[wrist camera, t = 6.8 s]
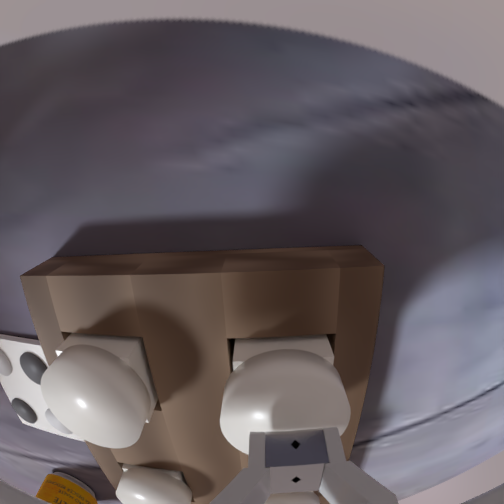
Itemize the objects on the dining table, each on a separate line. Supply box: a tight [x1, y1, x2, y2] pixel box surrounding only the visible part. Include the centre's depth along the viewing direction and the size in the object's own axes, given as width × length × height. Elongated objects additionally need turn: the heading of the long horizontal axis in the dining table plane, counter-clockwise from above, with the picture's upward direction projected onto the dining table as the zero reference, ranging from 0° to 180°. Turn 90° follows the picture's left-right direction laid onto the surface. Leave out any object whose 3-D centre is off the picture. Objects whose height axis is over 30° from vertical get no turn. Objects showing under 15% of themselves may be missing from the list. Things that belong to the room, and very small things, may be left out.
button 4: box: [220, 334, 351, 455], centre depth 12 cm, size 5×5×4 cm
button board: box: [20, 245, 384, 504], centre depth 16 cm, size 16×20×3 cm
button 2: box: [41, 333, 158, 448], centre depth 12 cm, size 5×5×4 cm
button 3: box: [264, 491, 320, 504], centre depth 15 cm, size 5×5×4 cm
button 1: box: [116, 463, 192, 504], centre depth 16 cm, size 5×5×4 cm
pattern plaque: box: [0, 334, 85, 442], centre depth 17 cm, size 7×9×1 cm
